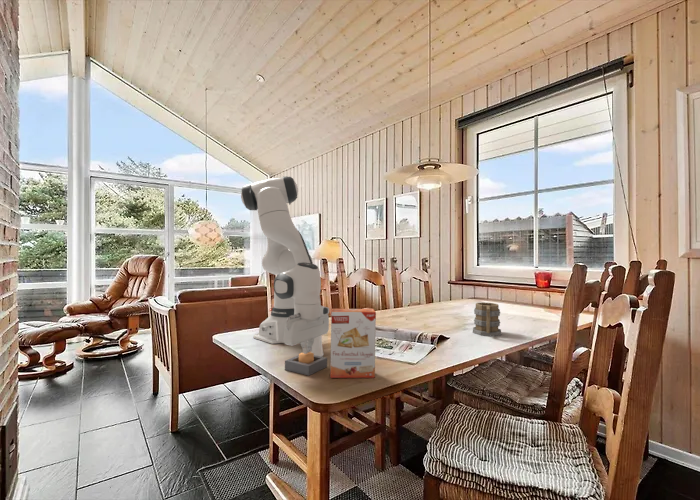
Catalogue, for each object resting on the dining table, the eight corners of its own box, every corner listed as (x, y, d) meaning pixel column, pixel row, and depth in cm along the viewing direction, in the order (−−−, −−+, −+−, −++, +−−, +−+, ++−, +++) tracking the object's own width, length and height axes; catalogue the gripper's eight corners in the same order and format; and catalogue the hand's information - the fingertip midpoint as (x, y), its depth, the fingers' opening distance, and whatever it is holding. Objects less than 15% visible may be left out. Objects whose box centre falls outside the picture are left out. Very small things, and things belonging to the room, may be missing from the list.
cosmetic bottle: (315, 352, 137) (316, 295, 137) (326, 355, 133) (327, 296, 133) (303, 355, 133) (304, 296, 133) (315, 358, 129) (315, 298, 129)
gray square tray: (284, 369, 117) (284, 360, 117) (303, 361, 126) (304, 353, 126) (308, 375, 112) (308, 366, 112) (327, 366, 120) (327, 357, 120)
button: (295, 366, 118) (295, 354, 118) (305, 362, 122) (305, 351, 122) (307, 369, 115) (307, 357, 115) (316, 365, 120) (316, 353, 120)
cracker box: (330, 379, 109) (330, 311, 109) (330, 372, 115) (330, 307, 115) (375, 378, 110) (376, 311, 110) (373, 371, 116) (373, 307, 116)
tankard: (473, 329, 179) (473, 299, 179) (500, 331, 174) (501, 300, 174) (471, 338, 161) (471, 305, 161) (501, 341, 156) (502, 307, 156)
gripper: (294, 317, 108) (294, 362, 108) (332, 307, 126) (331, 346, 126) (279, 315, 112) (278, 359, 112) (317, 306, 129) (317, 344, 129)
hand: (307, 352), depth 119 cm, fingers closed
